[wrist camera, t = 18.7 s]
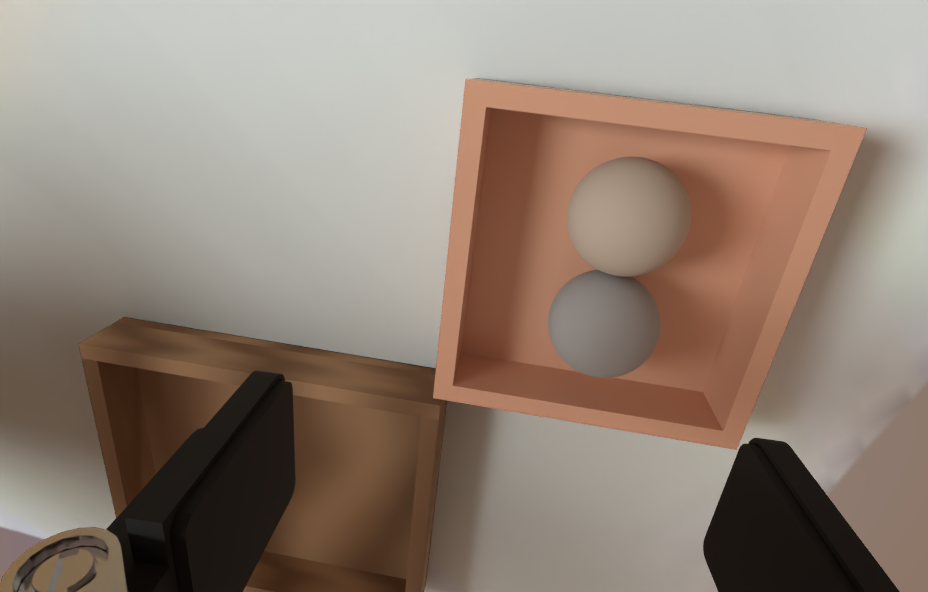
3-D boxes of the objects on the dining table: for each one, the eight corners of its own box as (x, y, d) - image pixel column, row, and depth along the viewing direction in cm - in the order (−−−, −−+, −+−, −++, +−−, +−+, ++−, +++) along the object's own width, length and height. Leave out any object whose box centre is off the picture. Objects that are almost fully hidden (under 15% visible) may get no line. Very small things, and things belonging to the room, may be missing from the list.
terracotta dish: (445, 358, 26) (432, 398, 23) (476, 78, 21) (465, 79, 18) (711, 401, 25) (736, 449, 22) (814, 119, 20) (866, 128, 17)
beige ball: (574, 142, 21) (586, 159, 17) (686, 156, 20) (725, 177, 16) (554, 246, 22) (560, 285, 18) (657, 261, 22) (686, 303, 18)
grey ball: (555, 248, 22) (562, 285, 18) (657, 262, 22) (688, 303, 18) (538, 338, 24) (541, 390, 20) (633, 352, 24) (656, 407, 20)
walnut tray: (160, 530, 34) (127, 571, 31) (123, 317, 28) (78, 343, 25) (425, 583, 33) (415, 629, 30) (450, 371, 26) (440, 405, 24)
